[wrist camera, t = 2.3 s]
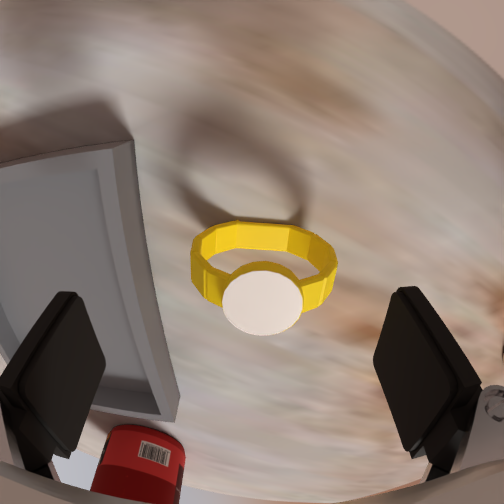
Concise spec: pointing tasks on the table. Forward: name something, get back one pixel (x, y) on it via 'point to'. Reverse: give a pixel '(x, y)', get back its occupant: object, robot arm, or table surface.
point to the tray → (86, 268)
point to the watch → (262, 275)
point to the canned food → (140, 466)
